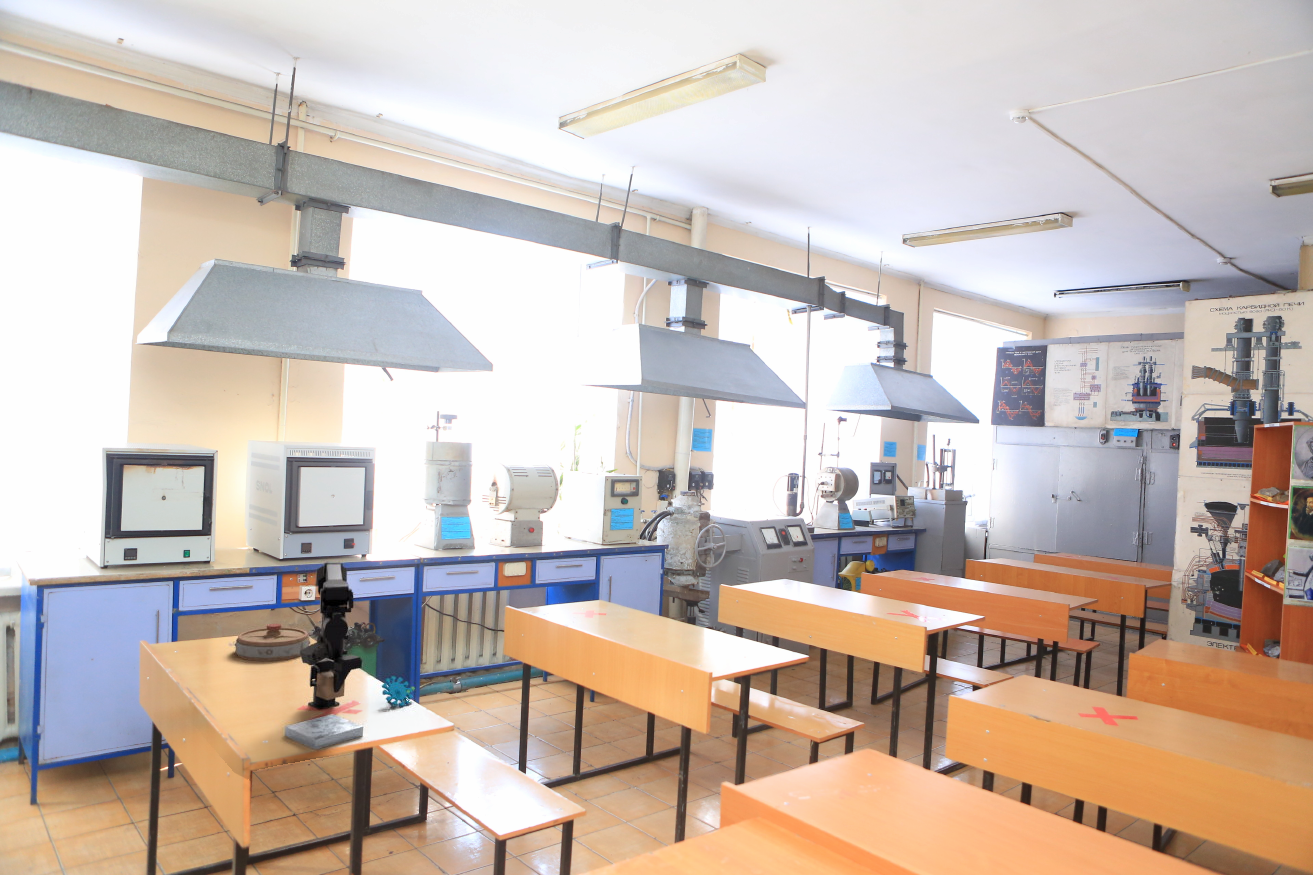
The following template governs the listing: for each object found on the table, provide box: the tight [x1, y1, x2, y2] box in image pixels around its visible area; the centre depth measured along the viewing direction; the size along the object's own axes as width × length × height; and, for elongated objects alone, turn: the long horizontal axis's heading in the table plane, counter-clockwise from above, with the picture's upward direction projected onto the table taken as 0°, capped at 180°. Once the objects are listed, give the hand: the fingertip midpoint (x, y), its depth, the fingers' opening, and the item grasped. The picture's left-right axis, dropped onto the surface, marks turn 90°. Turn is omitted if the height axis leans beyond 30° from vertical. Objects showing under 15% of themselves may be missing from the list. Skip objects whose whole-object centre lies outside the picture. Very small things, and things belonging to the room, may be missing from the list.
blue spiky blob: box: [381, 675, 415, 708], centre depth 253 cm, size 11×6×10 cm
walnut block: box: [316, 671, 346, 700], centre depth 224 cm, size 5×5×6 cm
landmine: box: [234, 623, 311, 662], centre depth 301 cm, size 24×24×10 cm
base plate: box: [284, 713, 364, 751], centre depth 223 cm, size 14×14×2 cm
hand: (330, 689), depth 224 cm, fingers closed on walnut block, 5 cm apart
